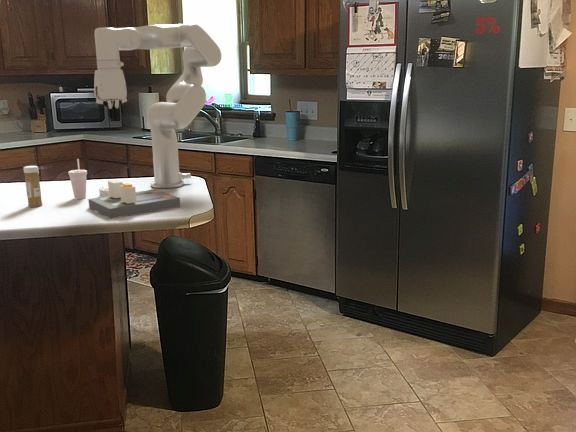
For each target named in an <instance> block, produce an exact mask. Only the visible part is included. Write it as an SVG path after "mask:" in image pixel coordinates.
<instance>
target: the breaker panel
mask: <svg viewBox="0 0 576 432" xmlns="http://www.w3.org/2000/svg"><path fill="white" fill-rule="evenodd" d="M88 207H89V209H91V210H93V211H94V212H96V213H99V214H101V215H102V216H105V217H107V218H108V219H114V218H121V217H122V218H123V217H126V216H132V215H138V214H144V213H151V212H156V211H162V210H167V209H169V210H170V209H174V208H180V207H181V197H179V196H176V195H173V194H170V193H168V192H164V191H162V190H159V189H157V188H155V189H154V188H153V189H148V190H141V191H136V202H135V203H128V204H127V203H125V202H122V201H121V198H113V197H111V196H106V197H100V196H99V197H94V198H88Z"/></svg>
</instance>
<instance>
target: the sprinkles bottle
mask: <svg viewBox="0 0 576 432" xmlns="http://www.w3.org/2000/svg"><path fill="white" fill-rule="evenodd" d="M22 169H23V175H24V179H25V180H24V181H25V189H26V197H27V203H28V204H27V206H28V207H29V208H38V207H41V206H42V205H43V202H42V200H43V199H42V193H41V192H42V191H41V183H40V177H39V171H40V170H39V166H37V165H26V166H23V168H22Z"/></svg>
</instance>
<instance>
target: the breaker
mask: <svg viewBox="0 0 576 432" xmlns="http://www.w3.org/2000/svg"><path fill="white" fill-rule="evenodd" d="M122 184H124V183H123V181H121V180H118V179H113V180H108V181H107V185H108V188H109V196H111V197H113V198H121V194H120V186H121V185H122Z"/></svg>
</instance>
